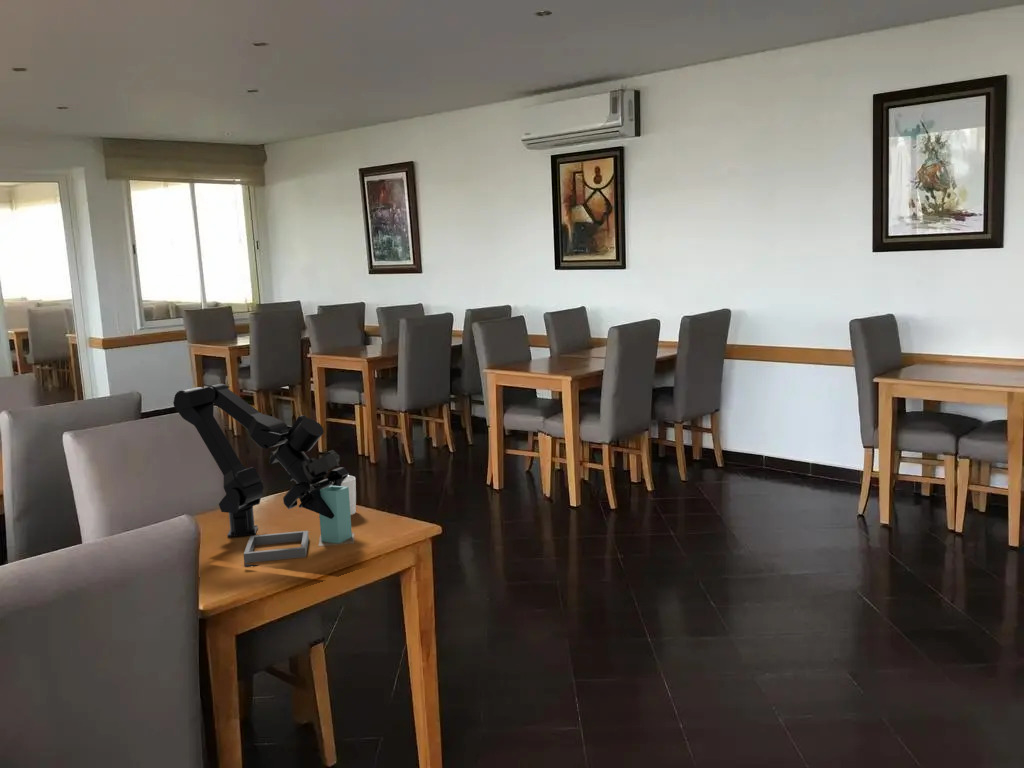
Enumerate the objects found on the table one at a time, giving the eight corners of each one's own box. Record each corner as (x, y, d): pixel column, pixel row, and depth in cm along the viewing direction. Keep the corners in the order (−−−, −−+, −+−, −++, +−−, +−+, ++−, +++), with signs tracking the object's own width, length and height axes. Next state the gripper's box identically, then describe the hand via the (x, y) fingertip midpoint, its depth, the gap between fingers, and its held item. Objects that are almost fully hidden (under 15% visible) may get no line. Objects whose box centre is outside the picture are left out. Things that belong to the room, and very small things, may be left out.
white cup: (320, 520, 220) (318, 482, 218) (337, 511, 227) (334, 474, 225) (347, 522, 217) (344, 483, 215) (363, 513, 224) (361, 476, 223)
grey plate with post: (320, 539, 203) (318, 523, 203) (354, 536, 205) (353, 520, 204) (318, 550, 196) (317, 533, 195) (354, 547, 197) (353, 530, 196)
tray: (251, 548, 199) (250, 535, 199) (309, 542, 201) (308, 530, 201) (244, 567, 187) (243, 553, 186) (306, 561, 189) (305, 547, 188)
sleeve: (321, 541, 199) (317, 490, 197) (334, 534, 203) (330, 485, 202) (339, 543, 197) (335, 492, 195) (352, 536, 201) (348, 486, 200)
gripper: (289, 450, 190) (334, 502, 187) (339, 433, 207) (381, 481, 204) (264, 482, 194) (307, 534, 191) (315, 464, 211) (356, 511, 208)
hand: (339, 514), depth 199 cm, fingers closed on sleeve, 5 cm apart
